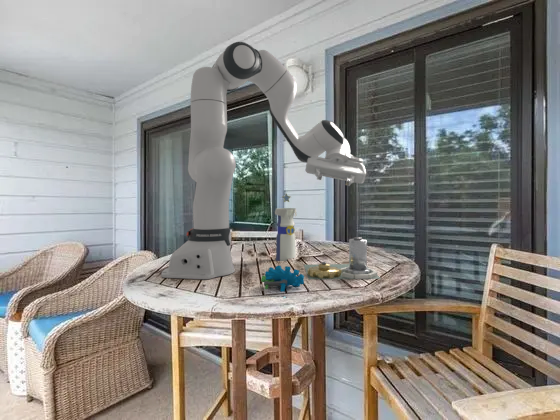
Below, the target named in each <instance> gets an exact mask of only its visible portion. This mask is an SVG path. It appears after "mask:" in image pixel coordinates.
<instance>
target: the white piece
mask: <svg viewBox="0 0 560 420" xmlns="http://www.w3.org/2000/svg"><path fill="white" fill-rule="evenodd" d="M281 198H283V203H286V202H288V203H290V200H289V199H290V198H292V196H290V195H288V194H287V193H285V195H282V196H281ZM297 214H298V213H297V208H294V207H283V208H282V207H280V208H279V207H277V208H275V210H274V215H276V216H277V223H276V224H275V225H276V226H277V227H276V228H277V229H276V230H277V232H276V233H277V234H276V237H275V238H276V239H275V242H276V244H275V245H276V247H275V248H276V249H275V250H276V251H275V261H277V262H287V261H288V260H290V259H295V258H296V257H297V251H296V249H297V246H296V234H295V225H296V223H295V222H294V218H296V217H297Z"/></svg>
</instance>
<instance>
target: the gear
mask: <svg viewBox="0 0 560 420" xmlns="http://www.w3.org/2000/svg"><path fill="white" fill-rule="evenodd" d="M291 269H292V267H291V266H288V265H287V266H285V267H284V269H283V268H282V266H281V265H276V266H275V268H274V267H269V268H268V271H267V270H266V271H265V273H264V275H262V276H261V280H260V282H261V283H263V286H264V289H265V290H268V289H269V288H270V287H271V288H272V287H273V288H274V287H275V288H276V287H280V292H281V293H282V292H283V293H284V292H285V291H286V290H285V289H286V287H288V286H293V287H301V285H304V281H305V275H304V274H302V273H300V270H298V269H296V268H295V269H294V270H293V272H291ZM281 297H285V296H284V295H283V296H281Z"/></svg>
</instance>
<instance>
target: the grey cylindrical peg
mask: <svg viewBox="0 0 560 420" xmlns="http://www.w3.org/2000/svg"><path fill="white" fill-rule="evenodd" d="M367 249H368V240H367V239H365V238H364V239H363V237H357V236H355V237H353V238H350V239H348V264H349V267H347V268H346V269H345V273H350V274H369V273H371V269H372V268H371V269H368V268H369V267H368V256H367V255H368V250H367ZM367 267H368V268H367Z"/></svg>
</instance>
